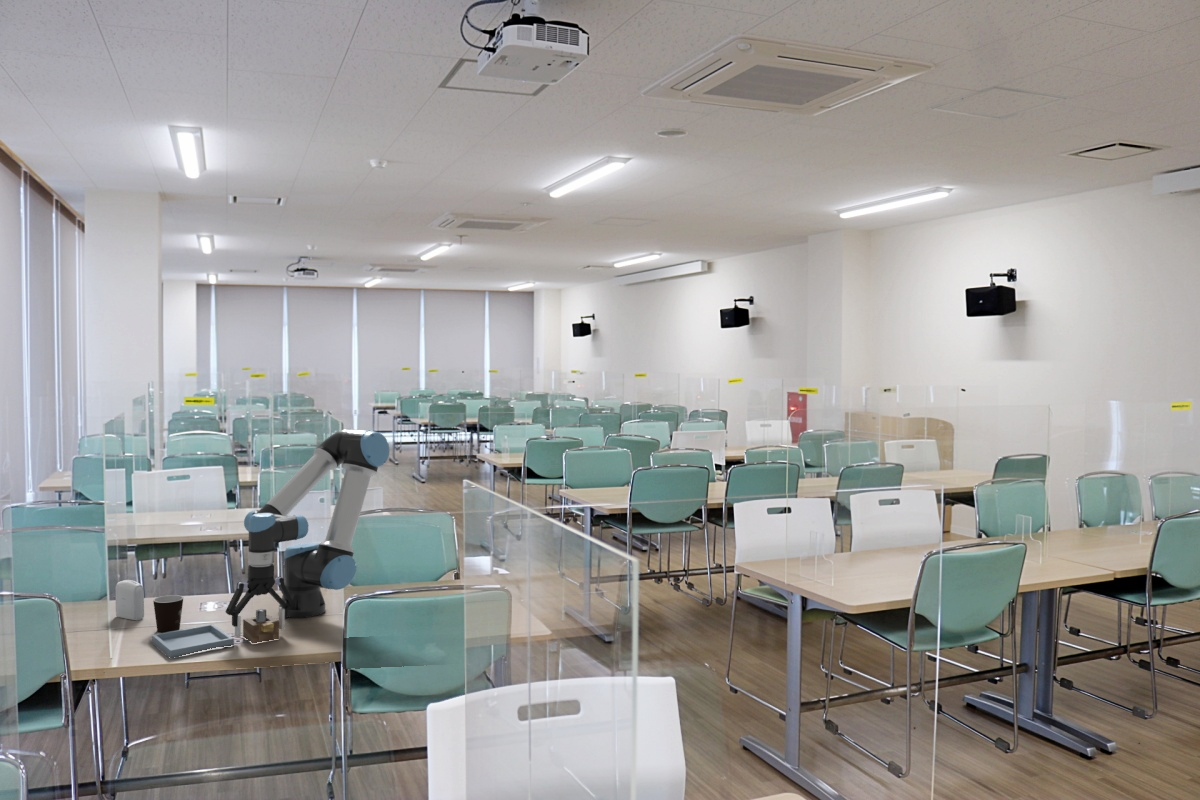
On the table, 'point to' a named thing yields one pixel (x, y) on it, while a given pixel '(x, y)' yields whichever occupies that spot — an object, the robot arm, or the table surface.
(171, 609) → the coffee mug
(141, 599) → the photo printer
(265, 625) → the collar
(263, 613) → the post
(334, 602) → the table surface
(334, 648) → the table surface
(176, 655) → the tray
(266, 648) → the table surface
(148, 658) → the table surface
